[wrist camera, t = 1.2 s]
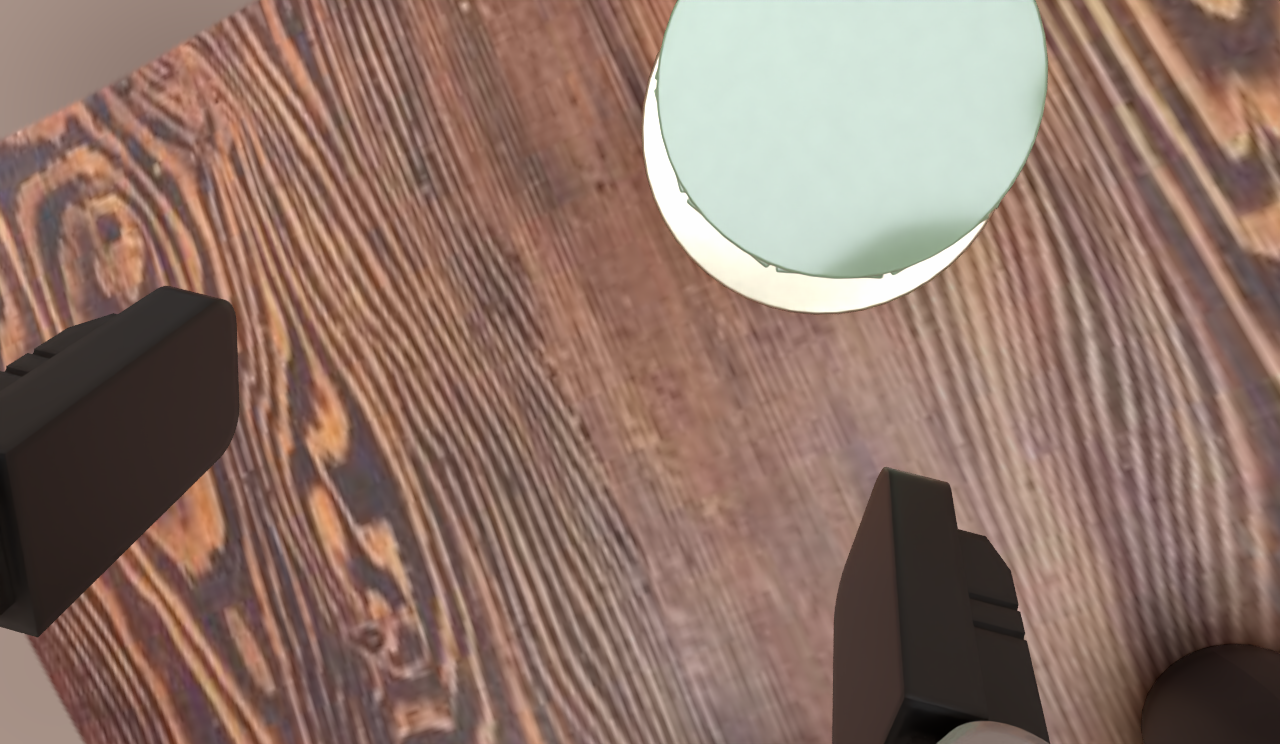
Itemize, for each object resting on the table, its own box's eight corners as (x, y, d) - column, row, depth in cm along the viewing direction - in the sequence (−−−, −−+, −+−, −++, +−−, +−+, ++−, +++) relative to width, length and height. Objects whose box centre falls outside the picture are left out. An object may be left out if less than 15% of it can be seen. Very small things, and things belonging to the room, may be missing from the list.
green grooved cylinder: (811, -70, 24) (819, -212, 16) (1018, 102, 24) (1143, 55, 16) (650, 139, 26) (576, 115, 17) (845, 300, 26) (870, 358, 17)
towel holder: (803, -135, 29) (809, -413, 16) (1089, 101, 29) (1343, 27, 16) (579, 161, 32) (418, 143, 18) (841, 378, 32) (875, 521, 18)
